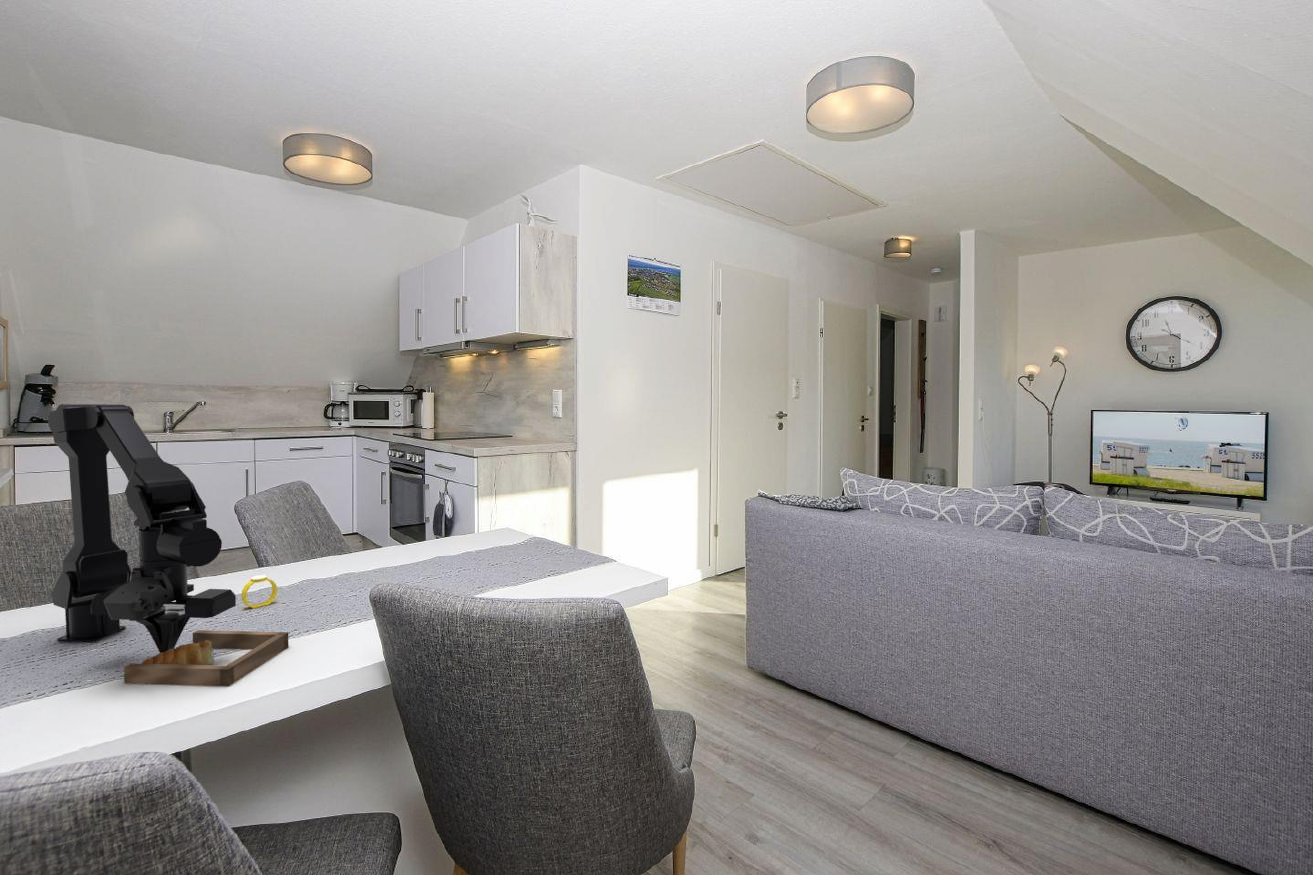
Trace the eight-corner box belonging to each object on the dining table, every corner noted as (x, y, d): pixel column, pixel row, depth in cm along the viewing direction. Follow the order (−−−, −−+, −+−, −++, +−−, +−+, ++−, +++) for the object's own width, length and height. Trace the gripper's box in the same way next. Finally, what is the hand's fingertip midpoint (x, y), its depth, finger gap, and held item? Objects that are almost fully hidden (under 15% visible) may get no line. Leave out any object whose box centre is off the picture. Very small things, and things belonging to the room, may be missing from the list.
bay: (124, 683, 91) (123, 666, 91) (198, 644, 106) (197, 630, 105) (228, 686, 91) (228, 669, 91) (288, 646, 105) (288, 632, 105)
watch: (247, 612, 122) (244, 583, 122) (241, 609, 124) (237, 580, 123) (280, 602, 127) (277, 573, 126) (273, 599, 129) (270, 571, 128)
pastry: (135, 687, 91) (134, 660, 90) (138, 670, 96) (137, 646, 96) (215, 670, 96) (214, 646, 96) (213, 656, 102) (213, 633, 101)
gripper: (53, 569, 90) (57, 676, 91) (183, 573, 89) (186, 681, 90) (121, 550, 101) (124, 645, 102) (237, 553, 100) (239, 649, 101)
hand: (166, 655), depth 99 cm, fingers closed
